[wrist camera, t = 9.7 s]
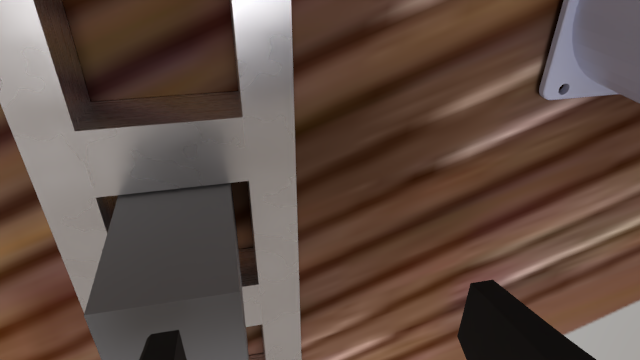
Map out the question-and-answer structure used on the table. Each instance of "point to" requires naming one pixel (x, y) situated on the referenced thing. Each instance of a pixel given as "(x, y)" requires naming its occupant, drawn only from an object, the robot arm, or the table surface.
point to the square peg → (170, 275)
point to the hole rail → (162, 149)
